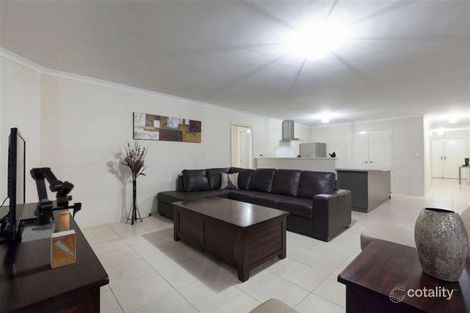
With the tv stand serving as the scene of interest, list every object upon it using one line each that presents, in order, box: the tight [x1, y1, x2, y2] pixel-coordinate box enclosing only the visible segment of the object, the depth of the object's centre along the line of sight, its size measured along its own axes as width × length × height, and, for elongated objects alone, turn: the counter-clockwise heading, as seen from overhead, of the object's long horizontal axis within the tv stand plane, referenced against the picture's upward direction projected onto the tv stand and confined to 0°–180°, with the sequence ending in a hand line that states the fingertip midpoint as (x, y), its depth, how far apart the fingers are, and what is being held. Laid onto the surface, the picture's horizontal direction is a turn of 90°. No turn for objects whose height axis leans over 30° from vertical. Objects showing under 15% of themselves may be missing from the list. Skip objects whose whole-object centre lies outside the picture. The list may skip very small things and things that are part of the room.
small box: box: [50, 229, 77, 270], centre depth 94 cm, size 8×6×13 cm
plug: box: [57, 210, 71, 232], centre depth 131 cm, size 6×6×13 cm
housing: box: [21, 223, 55, 243], centre depth 126 cm, size 13×13×4 cm
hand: (63, 220), depth 131 cm, fingers open, 9 cm apart
